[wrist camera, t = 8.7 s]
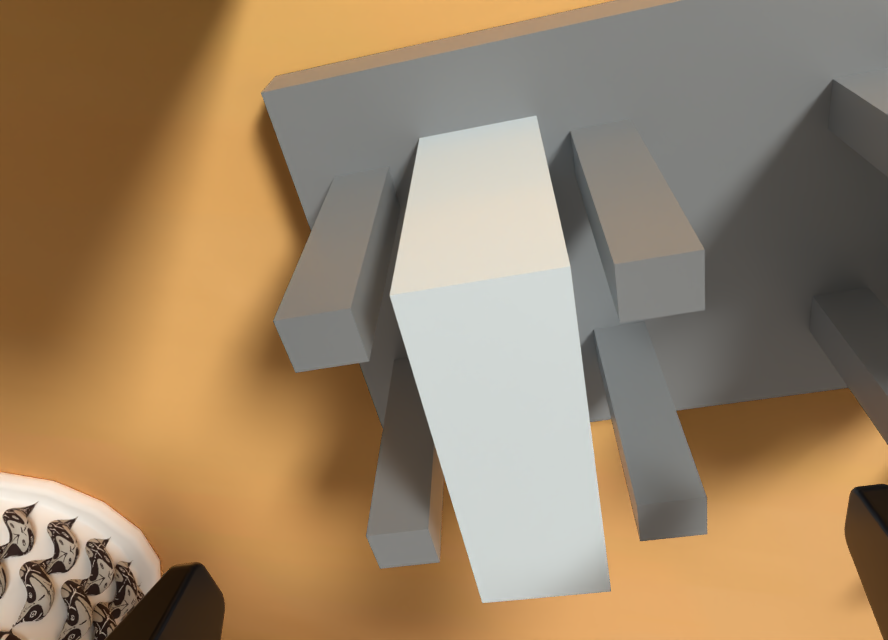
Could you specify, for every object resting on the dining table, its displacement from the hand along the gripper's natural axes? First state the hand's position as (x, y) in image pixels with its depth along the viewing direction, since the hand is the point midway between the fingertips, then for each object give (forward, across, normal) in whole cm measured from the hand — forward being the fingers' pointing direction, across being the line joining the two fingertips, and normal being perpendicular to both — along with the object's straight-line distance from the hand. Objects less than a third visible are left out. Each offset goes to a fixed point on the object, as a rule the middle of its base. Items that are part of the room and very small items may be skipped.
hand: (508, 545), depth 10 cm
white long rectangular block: (+8, 0, 0) cm, 8 cm away
